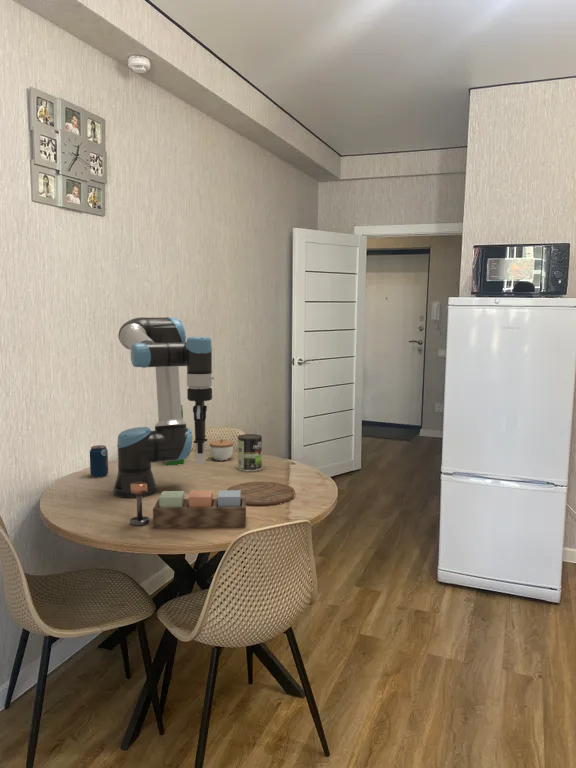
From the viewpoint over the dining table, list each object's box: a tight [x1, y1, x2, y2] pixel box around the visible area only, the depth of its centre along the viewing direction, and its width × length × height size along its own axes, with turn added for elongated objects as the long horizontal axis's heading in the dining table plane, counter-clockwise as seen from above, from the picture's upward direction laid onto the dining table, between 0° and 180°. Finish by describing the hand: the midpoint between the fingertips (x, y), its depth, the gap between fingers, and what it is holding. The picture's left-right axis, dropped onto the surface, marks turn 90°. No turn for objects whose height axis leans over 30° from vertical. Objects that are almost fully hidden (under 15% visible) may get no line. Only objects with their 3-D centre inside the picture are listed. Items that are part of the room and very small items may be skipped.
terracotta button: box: [188, 490, 214, 507], centre depth 179 cm, size 7×7×4 cm
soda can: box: [89, 445, 109, 478], centre depth 232 cm, size 7×7×12 cm
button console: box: [152, 497, 247, 529], centre depth 180 cm, size 28×10×6 cm, turn 93°
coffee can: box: [237, 433, 263, 472], centre depth 245 cm, size 10×10×14 cm
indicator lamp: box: [129, 482, 151, 527], centre depth 178 cm, size 6×6×12 cm
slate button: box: [217, 489, 241, 507], centre depth 180 cm, size 7×7×4 cm
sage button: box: [158, 490, 186, 508], centre depth 179 cm, size 7×7×4 cm
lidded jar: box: [209, 438, 234, 462], centre depth 261 cm, size 11×11×9 cm
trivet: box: [226, 481, 296, 507], centre depth 208 cm, size 25×25×2 cm
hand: (200, 462), depth 178 cm, fingers closed
